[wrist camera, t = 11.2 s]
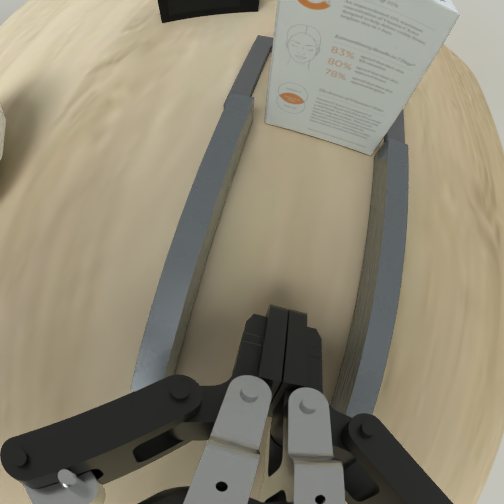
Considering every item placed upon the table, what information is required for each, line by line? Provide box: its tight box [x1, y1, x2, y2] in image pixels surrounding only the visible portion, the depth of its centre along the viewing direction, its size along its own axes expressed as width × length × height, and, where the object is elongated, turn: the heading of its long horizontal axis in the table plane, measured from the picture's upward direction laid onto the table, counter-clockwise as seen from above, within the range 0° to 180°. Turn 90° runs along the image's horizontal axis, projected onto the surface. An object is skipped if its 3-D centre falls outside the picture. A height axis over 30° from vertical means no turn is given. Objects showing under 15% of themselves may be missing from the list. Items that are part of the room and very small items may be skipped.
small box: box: [265, 0, 459, 155], centre depth 14 cm, size 8×6×13 cm
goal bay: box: [224, 35, 405, 144], centre depth 21 cm, size 14×10×1 cm
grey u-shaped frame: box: [131, 93, 408, 418], centre depth 16 cm, size 12×18×2 cm, turn 165°
